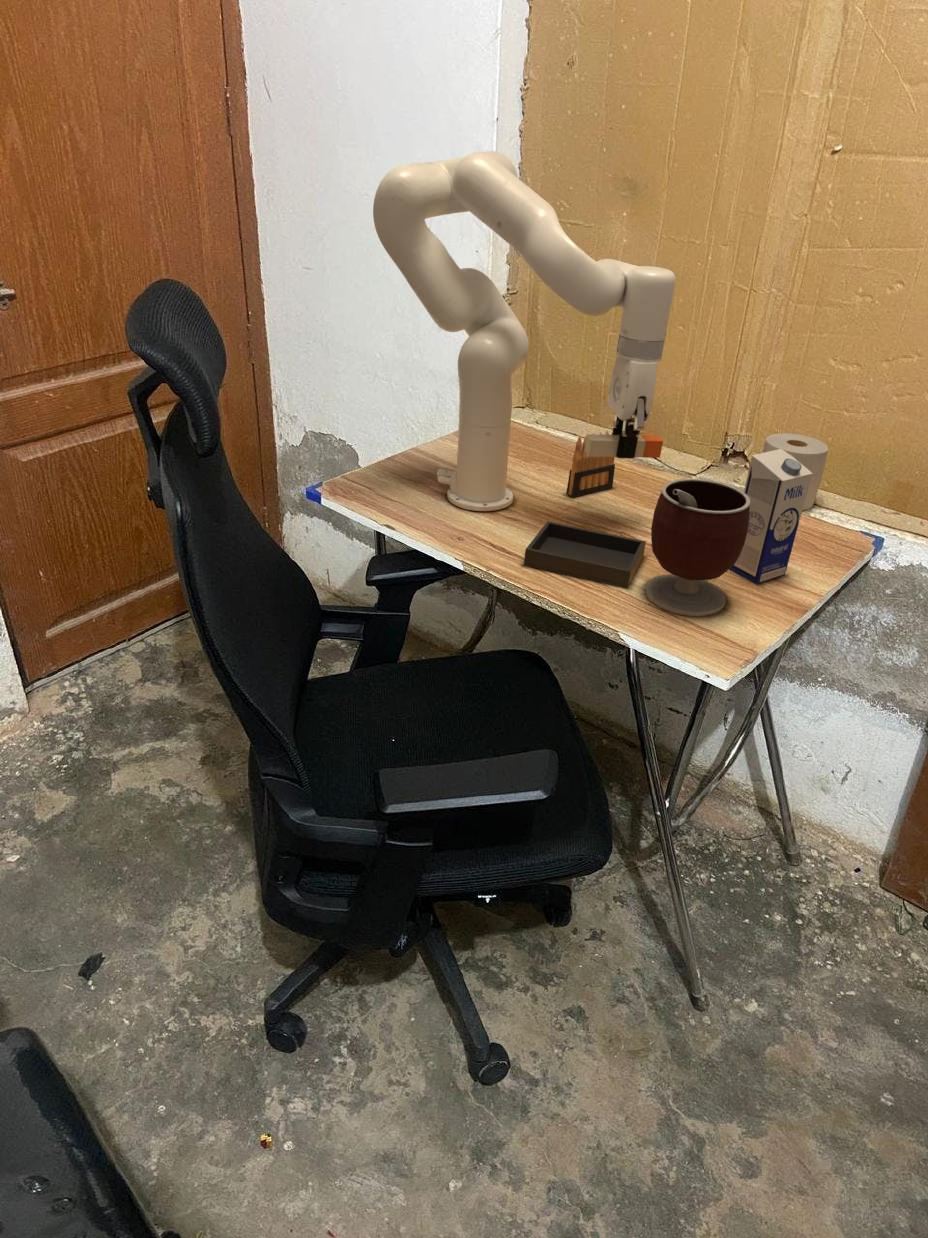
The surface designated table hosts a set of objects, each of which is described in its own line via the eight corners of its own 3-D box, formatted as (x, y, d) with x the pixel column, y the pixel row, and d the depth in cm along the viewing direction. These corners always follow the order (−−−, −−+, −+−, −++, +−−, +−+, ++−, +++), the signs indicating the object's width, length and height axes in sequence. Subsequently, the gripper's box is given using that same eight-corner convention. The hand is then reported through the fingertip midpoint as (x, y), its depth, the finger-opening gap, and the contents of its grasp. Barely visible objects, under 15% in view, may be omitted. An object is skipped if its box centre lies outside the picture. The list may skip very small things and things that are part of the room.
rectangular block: (588, 456, 150) (591, 439, 148) (584, 450, 152) (586, 433, 151) (660, 457, 152) (663, 440, 150) (654, 451, 155) (657, 434, 153)
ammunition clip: (572, 497, 168) (579, 438, 162) (565, 494, 170) (572, 435, 164) (612, 488, 174) (621, 430, 168) (606, 485, 175) (614, 427, 169)
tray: (523, 565, 143) (525, 548, 141) (545, 536, 153) (547, 520, 151) (627, 588, 137) (630, 571, 136) (643, 556, 147) (646, 541, 146)
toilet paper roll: (783, 484, 180) (797, 430, 174) (827, 506, 171) (843, 449, 165) (739, 491, 175) (751, 436, 169) (782, 514, 166) (797, 457, 160)
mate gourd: (674, 567, 145) (696, 453, 134) (747, 599, 136) (776, 480, 126) (616, 595, 135) (635, 474, 125) (691, 632, 127) (718, 505, 116)
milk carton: (754, 558, 149) (781, 447, 139) (785, 575, 144) (816, 460, 134) (725, 567, 145) (751, 453, 135) (756, 584, 141) (786, 468, 130)
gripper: (604, 334, 149) (588, 437, 158) (633, 360, 135) (615, 471, 145) (645, 336, 150) (628, 438, 160) (679, 361, 136) (657, 471, 146)
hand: (622, 452), depth 152 cm, fingers closed on rectangular block, 3 cm apart
